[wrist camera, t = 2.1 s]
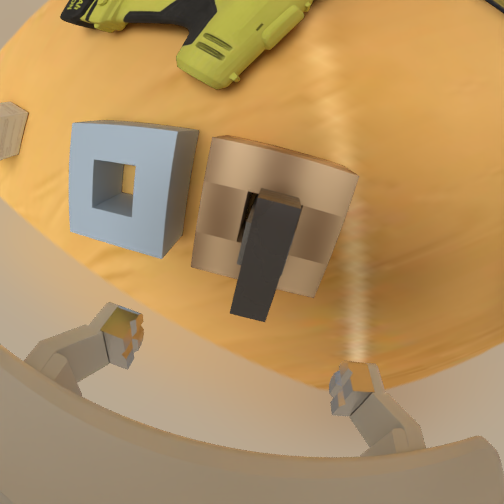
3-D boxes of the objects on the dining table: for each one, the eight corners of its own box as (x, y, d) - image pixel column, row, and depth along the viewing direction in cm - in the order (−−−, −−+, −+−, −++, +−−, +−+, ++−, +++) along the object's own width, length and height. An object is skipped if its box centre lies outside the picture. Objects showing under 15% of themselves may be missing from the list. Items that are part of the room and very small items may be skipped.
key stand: (343, 165, 25) (359, 176, 20) (309, 267, 31) (313, 298, 25) (227, 135, 25) (212, 137, 20) (206, 241, 31) (190, 266, 25)
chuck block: (199, 130, 25) (177, 131, 20) (182, 235, 31) (161, 258, 25) (105, 120, 25) (72, 122, 20) (98, 213, 31) (70, 231, 25)
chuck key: (265, 163, 26) (250, 195, 14) (297, 171, 26) (308, 210, 14) (248, 234, 30) (224, 311, 18) (276, 242, 30) (270, 323, 18)
